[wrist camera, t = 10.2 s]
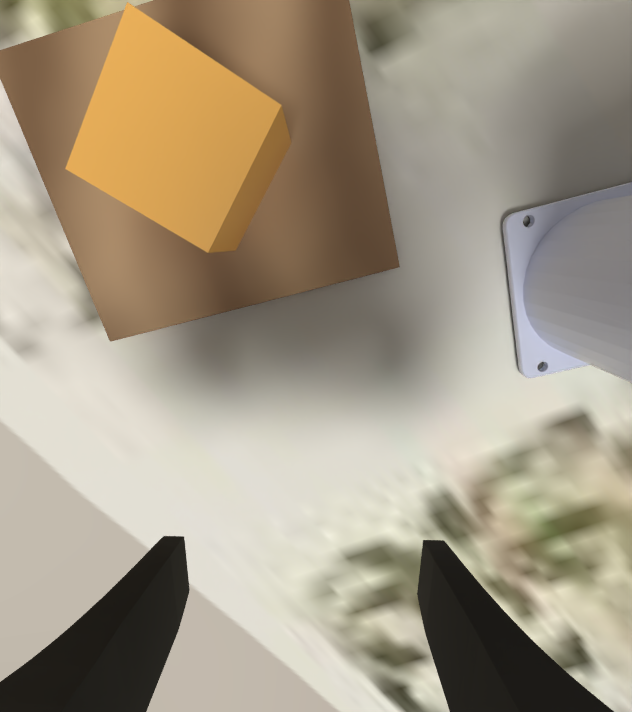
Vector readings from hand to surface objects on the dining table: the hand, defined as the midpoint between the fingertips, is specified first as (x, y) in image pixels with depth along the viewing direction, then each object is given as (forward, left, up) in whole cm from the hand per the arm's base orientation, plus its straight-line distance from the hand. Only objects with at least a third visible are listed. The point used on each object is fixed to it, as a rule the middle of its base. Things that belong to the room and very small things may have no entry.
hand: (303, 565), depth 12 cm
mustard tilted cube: (+1, -13, -8) cm, 16 cm away
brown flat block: (+1, -13, -9) cm, 16 cm away
